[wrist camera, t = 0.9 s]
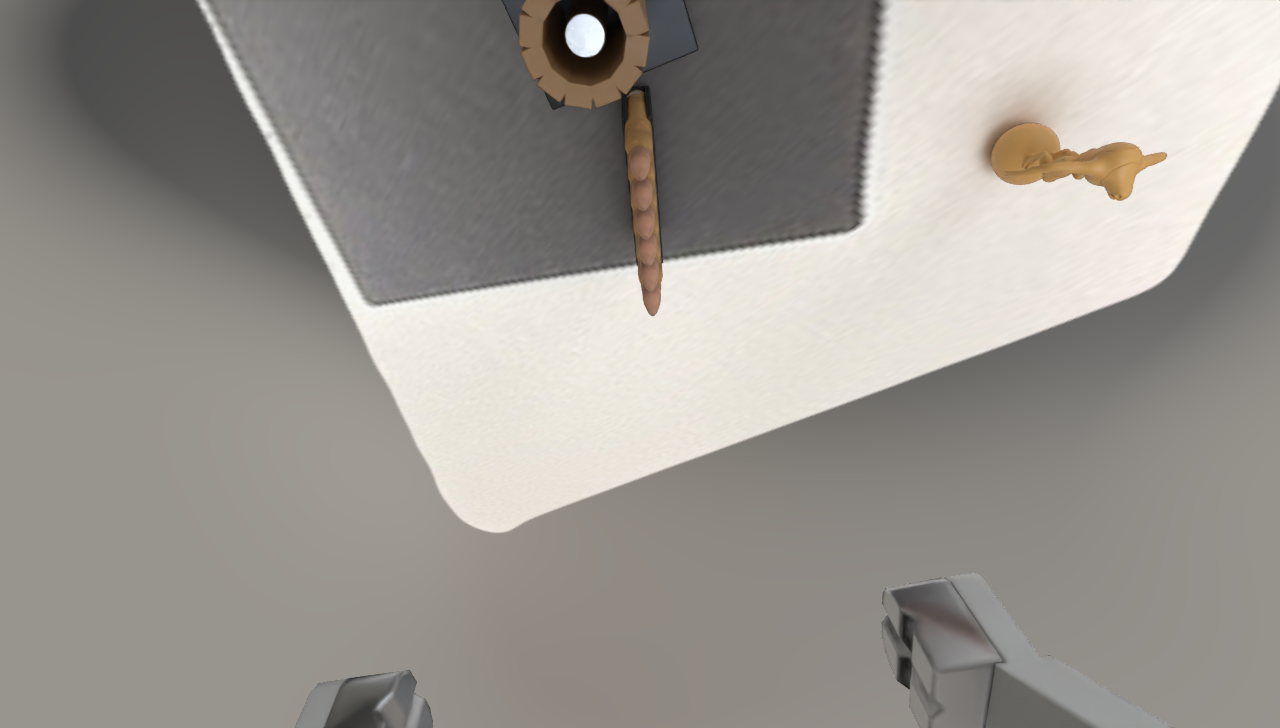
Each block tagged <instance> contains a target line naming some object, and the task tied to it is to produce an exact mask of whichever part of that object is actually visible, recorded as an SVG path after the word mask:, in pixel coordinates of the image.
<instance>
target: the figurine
mask: <svg viewBox="0 0 1280 728" xmlns="http://www.w3.org/2000/svg"><path fill="white" fill-rule="evenodd" d="M1166 157H1167V154H1166V153H1164V152H1161V153H1154V154H1150V155H1146V156H1143V155H1142V151H1141V150H1140V149H1139V147H1137V146H1136V145H1134V144H1131V143H1125V142H1117V143H1112V144H1109V145H1105V146H1102V147H1100V148H1098V149H1095V148H1093V149H1090V150H1088V151H1087V152H1084V153H1082V154H1080V155H1078V154H1077V153H1076V152H1074V151H1070V150H1069V149H1064V150H1061V151H1060V142H1059V139H1058V137H1057V135H1056V134H1055V133H1054V132H1053V131H1052V130H1051V129H1050V128H1048V127H1047V126H1045V125H1042V124H1038V123H1025V124H1021V125H1018V126H1015V127H1013V128H1011V129H1010V130H1008V131H1007V132H1005V133H1004V134H1003V135H1002V136H1001V137H1000V138H999V139H998V141H997V142H996V144H995V146H994V148H993V151H992V156H991V162H992V167H993V169H994V171H995V173H996V174H997V176H998V177H999V178H1001V179H1002V180H1003V181H1005V182H1007V183H1010V184H1015V185H1025V184H1030V183H1033V182H1036V181H1038V180H1040V179H1043V181H1045V182H1053V181H1055V180H1056V179H1059V178H1063V177H1066V176H1068V175H1070V174H1072V175H1073V177H1074V178H1075V179H1078V180H1079V179H1082V178H1084V177H1085V178H1086V180H1087V181H1088V182H1089V183H1091V184H1093V185H1097V186H1104V187H1105V189H1106V191H1107V193H1108V195H1109V197H1110V198H1111V199H1116V200H1118V201H1121V200H1124V199H1126V198H1128V197H1129V196H1130V194H1131V192H1132V189H1133V183H1134V179H1135V176H1136V175H1137V173H1139V172H1140V171H1142V170H1143V169H1145V168H1147V167H1148V166H1152V165H1154V164H1157V163H1159V162H1161V161H1163V160H1165V159H1166Z"/></svg>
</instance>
